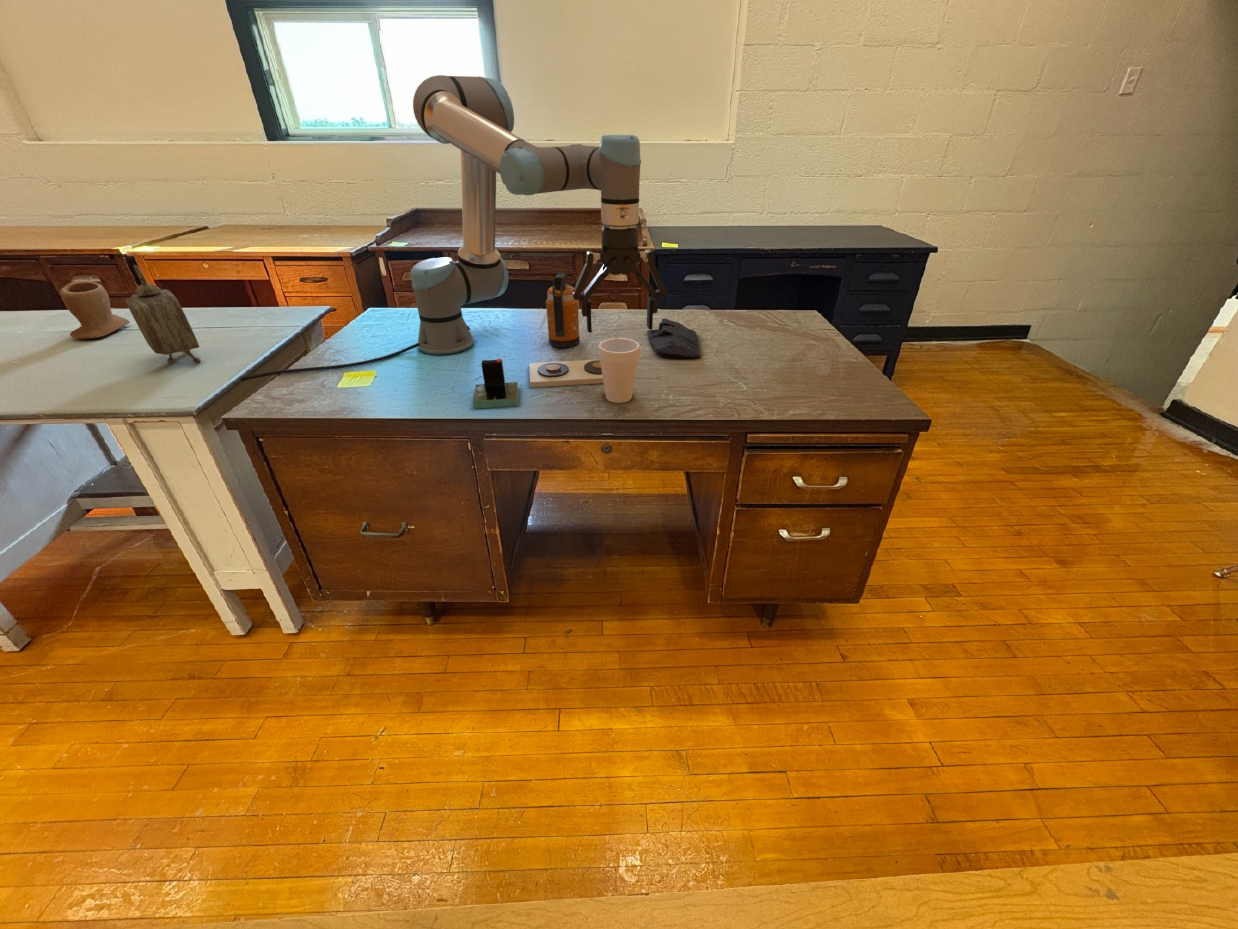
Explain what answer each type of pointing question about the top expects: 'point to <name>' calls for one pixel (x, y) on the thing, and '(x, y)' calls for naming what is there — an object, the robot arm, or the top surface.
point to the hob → (565, 373)
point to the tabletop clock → (161, 320)
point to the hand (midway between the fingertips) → (619, 329)
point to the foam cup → (619, 367)
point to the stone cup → (91, 309)
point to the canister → (562, 313)
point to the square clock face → (496, 397)
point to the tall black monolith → (493, 376)
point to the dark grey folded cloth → (674, 340)
